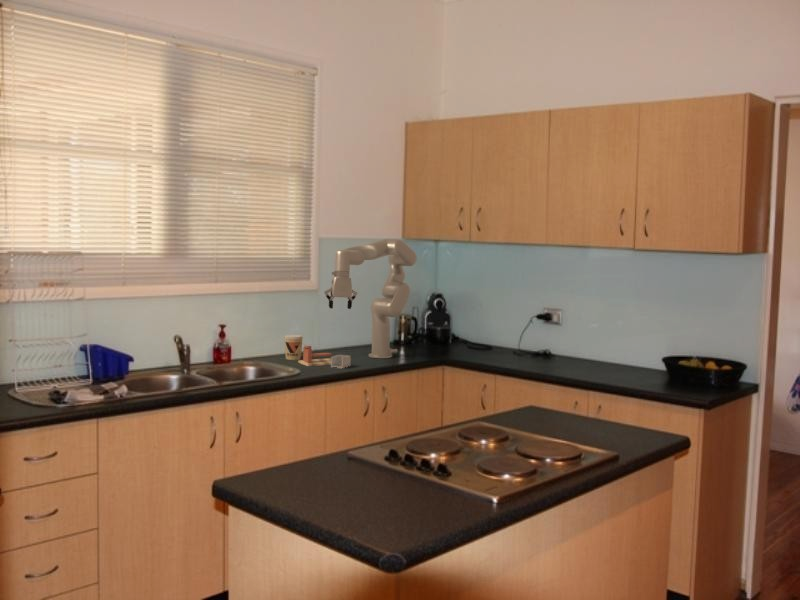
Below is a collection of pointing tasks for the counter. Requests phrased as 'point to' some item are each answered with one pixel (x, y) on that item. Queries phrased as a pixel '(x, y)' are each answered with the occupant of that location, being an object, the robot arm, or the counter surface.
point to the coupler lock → (340, 361)
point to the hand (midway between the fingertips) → (340, 308)
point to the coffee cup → (293, 347)
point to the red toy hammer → (308, 354)
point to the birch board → (316, 362)
